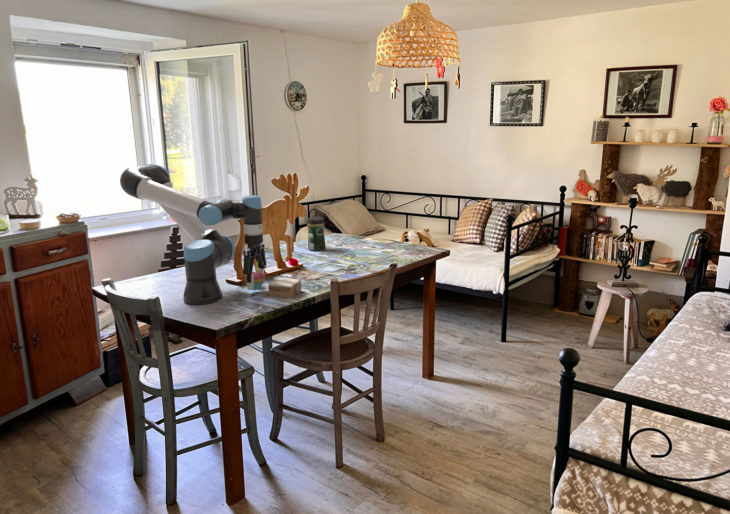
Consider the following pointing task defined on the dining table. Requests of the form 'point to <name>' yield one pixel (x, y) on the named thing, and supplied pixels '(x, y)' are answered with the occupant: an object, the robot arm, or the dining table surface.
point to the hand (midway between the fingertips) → (255, 286)
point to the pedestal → (284, 287)
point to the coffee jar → (316, 233)
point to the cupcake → (257, 278)
